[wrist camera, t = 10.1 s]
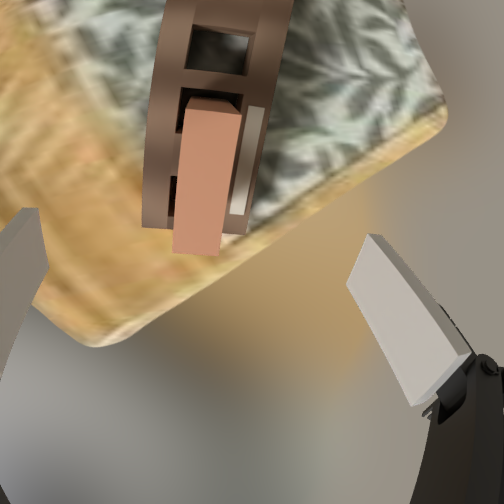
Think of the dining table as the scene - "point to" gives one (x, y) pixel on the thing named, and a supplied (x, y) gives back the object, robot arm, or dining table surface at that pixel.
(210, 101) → the pink u-shaped block
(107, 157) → the dining table surface
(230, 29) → the brown compartment rack
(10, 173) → the dining table surface
